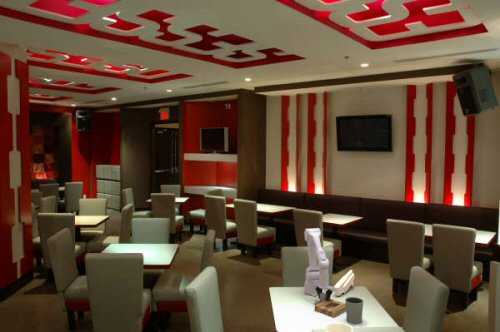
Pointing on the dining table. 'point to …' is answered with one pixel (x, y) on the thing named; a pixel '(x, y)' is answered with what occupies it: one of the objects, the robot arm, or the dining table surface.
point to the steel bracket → (322, 298)
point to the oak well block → (331, 308)
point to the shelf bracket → (344, 283)
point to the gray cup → (354, 309)
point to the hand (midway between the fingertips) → (324, 300)
